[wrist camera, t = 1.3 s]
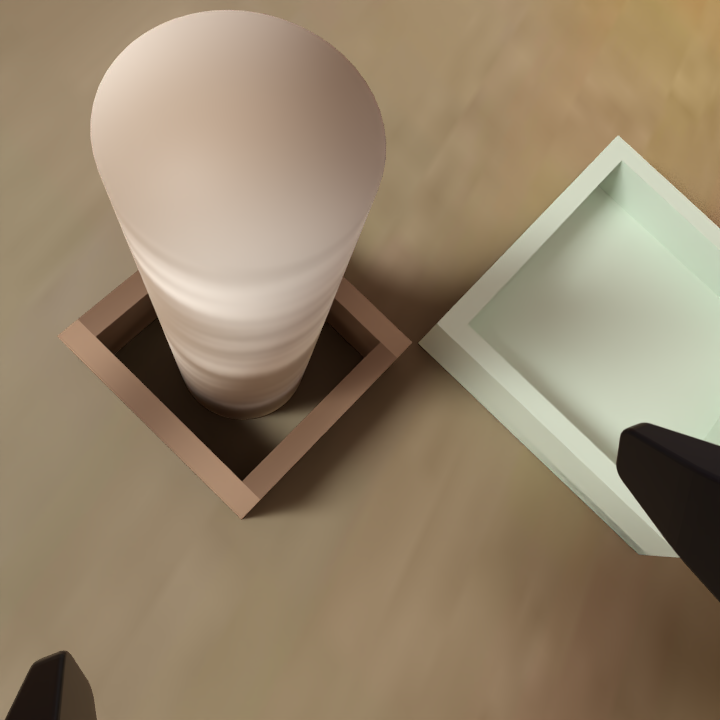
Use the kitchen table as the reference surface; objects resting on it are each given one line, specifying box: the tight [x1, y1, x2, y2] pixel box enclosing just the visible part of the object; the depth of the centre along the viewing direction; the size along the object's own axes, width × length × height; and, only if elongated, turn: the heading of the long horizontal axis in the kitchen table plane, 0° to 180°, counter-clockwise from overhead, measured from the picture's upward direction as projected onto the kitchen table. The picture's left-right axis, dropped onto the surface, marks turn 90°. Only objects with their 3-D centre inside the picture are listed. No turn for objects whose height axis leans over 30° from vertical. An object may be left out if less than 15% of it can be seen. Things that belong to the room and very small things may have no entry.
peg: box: [91, 10, 386, 419], centre depth 16 cm, size 4×4×14 cm
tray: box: [418, 136, 720, 558], centre depth 25 cm, size 12×12×2 cm
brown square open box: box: [57, 270, 412, 520], centre depth 22 cm, size 8×8×2 cm
